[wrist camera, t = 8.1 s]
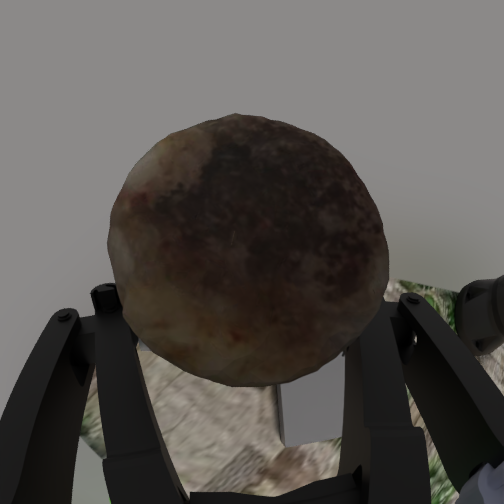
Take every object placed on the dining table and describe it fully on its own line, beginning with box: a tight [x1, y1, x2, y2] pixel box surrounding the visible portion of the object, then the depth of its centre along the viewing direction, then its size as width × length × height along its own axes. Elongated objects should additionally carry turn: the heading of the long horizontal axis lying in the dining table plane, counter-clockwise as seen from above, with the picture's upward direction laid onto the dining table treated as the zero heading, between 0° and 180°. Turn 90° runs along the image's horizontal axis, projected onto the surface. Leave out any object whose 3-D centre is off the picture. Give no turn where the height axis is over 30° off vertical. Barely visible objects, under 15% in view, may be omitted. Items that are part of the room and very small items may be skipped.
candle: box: [107, 113, 389, 387], centre depth 15 cm, size 8×7×20 cm
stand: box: [277, 351, 345, 447], centre depth 33 cm, size 12×12×3 cm
